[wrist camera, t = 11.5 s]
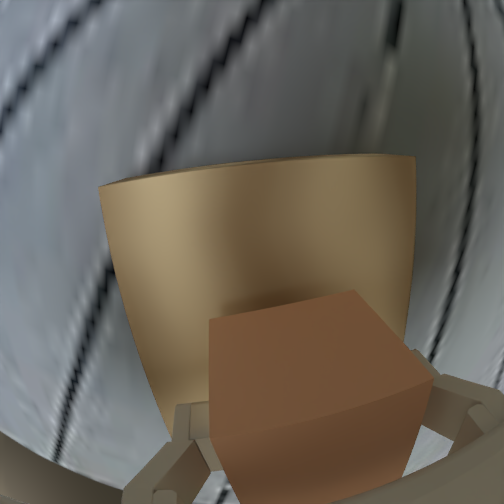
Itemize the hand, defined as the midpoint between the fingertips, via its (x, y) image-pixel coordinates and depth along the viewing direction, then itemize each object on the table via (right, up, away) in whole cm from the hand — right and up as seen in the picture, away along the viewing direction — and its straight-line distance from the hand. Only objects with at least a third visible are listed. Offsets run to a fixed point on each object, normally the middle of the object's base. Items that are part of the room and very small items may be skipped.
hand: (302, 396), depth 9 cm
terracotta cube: (0, +1, +2) cm, 2 cm away
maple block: (-1, +2, +7) cm, 8 cm away
